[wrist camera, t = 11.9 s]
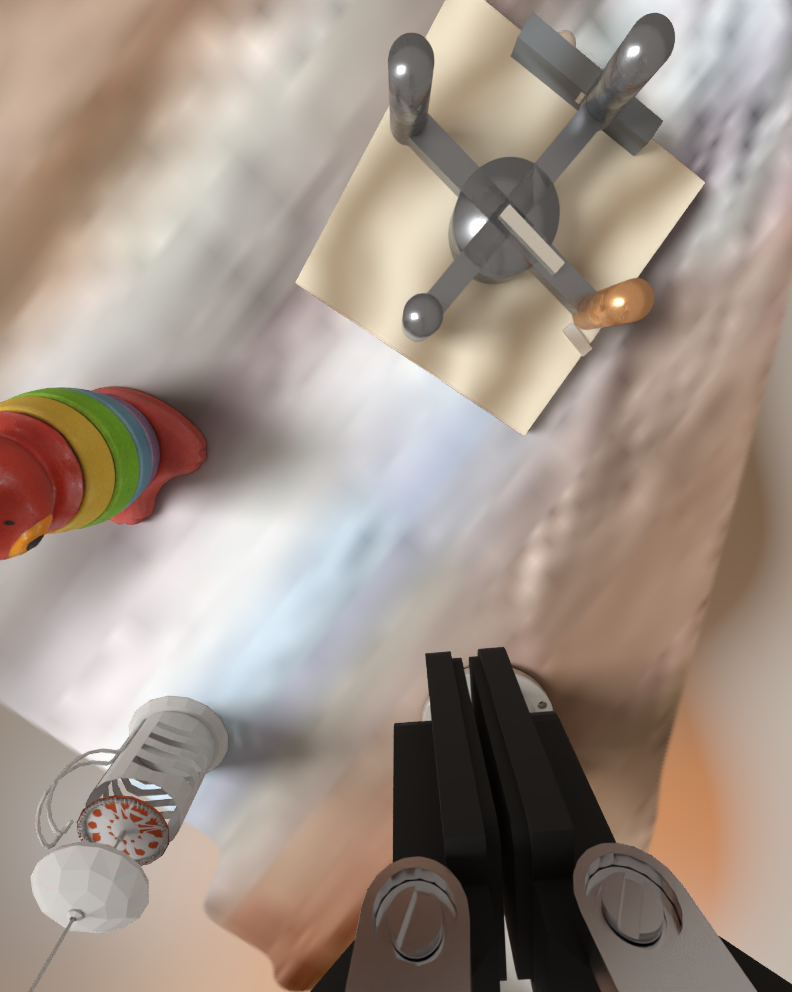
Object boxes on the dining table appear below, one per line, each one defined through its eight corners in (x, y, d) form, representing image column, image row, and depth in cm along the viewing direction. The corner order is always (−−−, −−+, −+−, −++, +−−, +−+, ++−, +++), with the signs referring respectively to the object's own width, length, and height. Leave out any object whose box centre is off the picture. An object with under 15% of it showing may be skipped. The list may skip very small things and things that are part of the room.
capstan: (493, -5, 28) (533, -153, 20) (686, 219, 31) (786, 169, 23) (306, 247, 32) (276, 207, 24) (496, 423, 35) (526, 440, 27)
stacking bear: (133, 531, 40) (-66, 658, 23) (36, 443, 38) (-264, 509, 20) (219, 449, 38) (72, 519, 21) (122, 352, 36) (-131, 339, 19)
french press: (192, 793, 47) (-18, 1234, 23) (93, 732, 45) (-249, 1147, 21) (248, 733, 45) (82, 1149, 21) (147, 667, 43) (-164, 1043, 19)
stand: (697, 184, 33) (735, 161, 29) (520, 433, 37) (534, 441, 34) (460, -11, 30) (469, -64, 26) (301, 287, 34) (289, 277, 31)
